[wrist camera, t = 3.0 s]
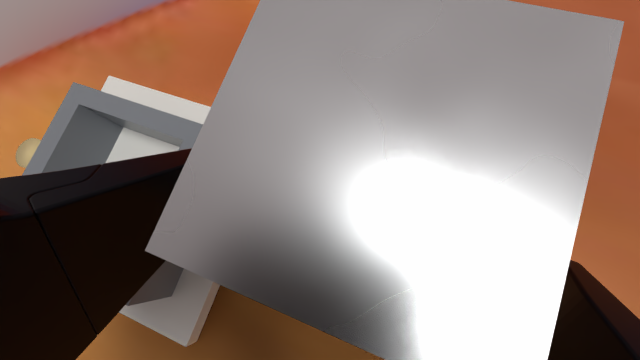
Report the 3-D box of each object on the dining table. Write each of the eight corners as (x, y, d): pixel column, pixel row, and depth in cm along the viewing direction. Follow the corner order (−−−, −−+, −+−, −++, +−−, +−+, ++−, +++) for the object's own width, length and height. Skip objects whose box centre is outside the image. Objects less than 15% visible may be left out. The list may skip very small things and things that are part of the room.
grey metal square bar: (397, 284, 15) (532, 425, 3) (316, 252, 16) (145, 250, 4) (423, 201, 16) (624, 20, 4) (344, 175, 17) (279, -41, 4)
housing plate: (196, 341, 16) (143, 369, 12) (30, 256, 19) (-57, 257, 15) (282, 134, 18) (259, 102, 14) (121, 83, 21) (64, 45, 17)
